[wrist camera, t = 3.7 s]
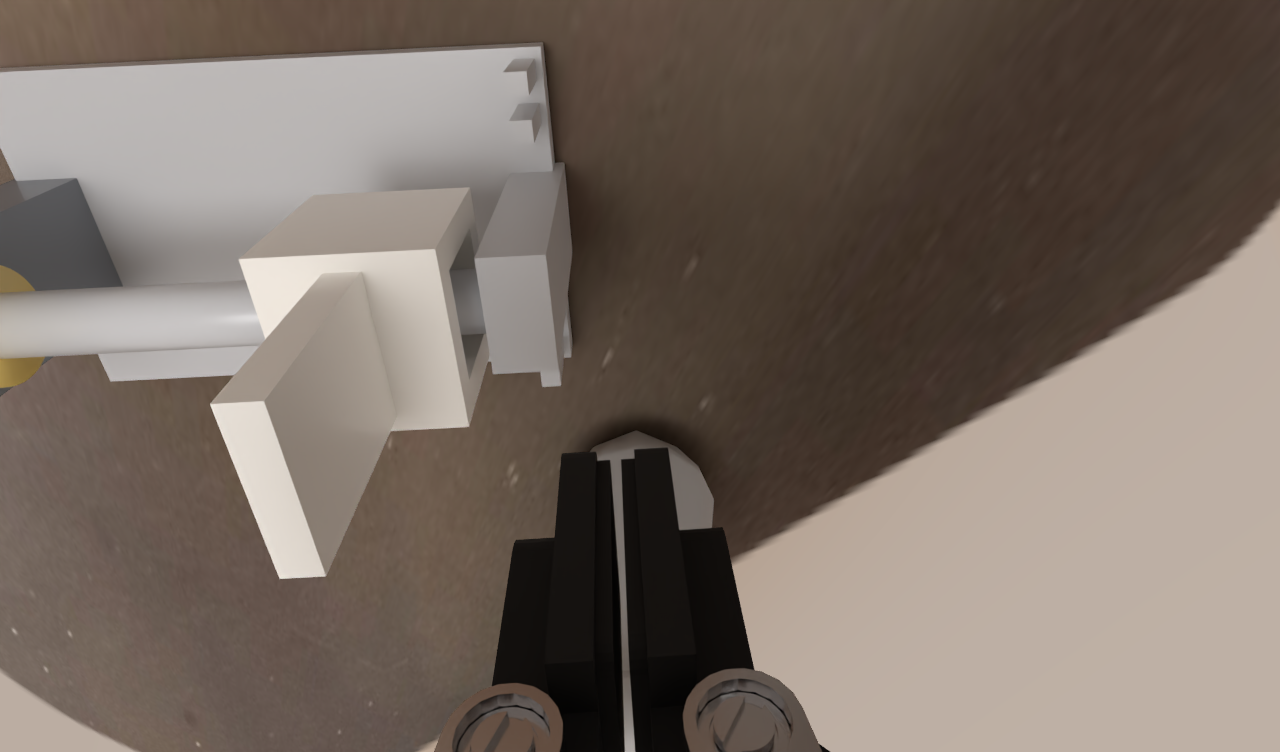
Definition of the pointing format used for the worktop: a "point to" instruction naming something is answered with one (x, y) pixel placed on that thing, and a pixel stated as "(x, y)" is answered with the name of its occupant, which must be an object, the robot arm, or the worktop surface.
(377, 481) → the worktop surface
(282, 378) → the square collar block
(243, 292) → the slider rail rig
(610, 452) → the salt shaker
